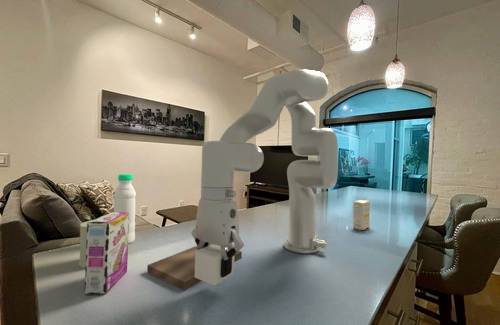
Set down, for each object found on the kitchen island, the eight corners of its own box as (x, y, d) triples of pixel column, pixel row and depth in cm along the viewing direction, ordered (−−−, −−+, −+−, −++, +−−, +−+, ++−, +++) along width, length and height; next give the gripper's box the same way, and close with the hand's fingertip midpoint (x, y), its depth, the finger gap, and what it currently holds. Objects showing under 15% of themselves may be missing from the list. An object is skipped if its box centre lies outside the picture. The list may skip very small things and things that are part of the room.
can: (93, 270, 63) (94, 226, 63) (71, 264, 66) (72, 223, 66) (123, 257, 72) (123, 219, 72) (101, 253, 75) (102, 216, 75)
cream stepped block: (242, 267, 58) (243, 244, 58) (214, 285, 50) (214, 257, 50) (224, 261, 62) (224, 239, 62) (194, 277, 53) (195, 251, 53)
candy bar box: (107, 295, 52) (108, 222, 52) (83, 295, 51) (85, 222, 51) (128, 271, 63) (130, 211, 63) (109, 271, 63) (110, 211, 63)
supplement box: (359, 225, 115) (360, 199, 115) (369, 228, 111) (370, 200, 111) (352, 228, 109) (353, 201, 109) (362, 231, 106) (363, 202, 106)
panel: (241, 257, 73) (241, 251, 73) (184, 290, 54) (184, 282, 54) (207, 247, 82) (207, 241, 82) (147, 272, 63) (147, 265, 63)
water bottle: (125, 246, 81) (127, 175, 81) (108, 244, 83) (109, 174, 82) (139, 239, 88) (140, 174, 88) (123, 238, 89) (124, 173, 89)
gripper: (256, 196, 53) (254, 275, 53) (202, 189, 62) (200, 256, 62) (236, 200, 46) (234, 289, 46) (179, 192, 56) (177, 266, 56)
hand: (215, 270), depth 54 cm, fingers closed on cream stepped block, 6 cm apart
